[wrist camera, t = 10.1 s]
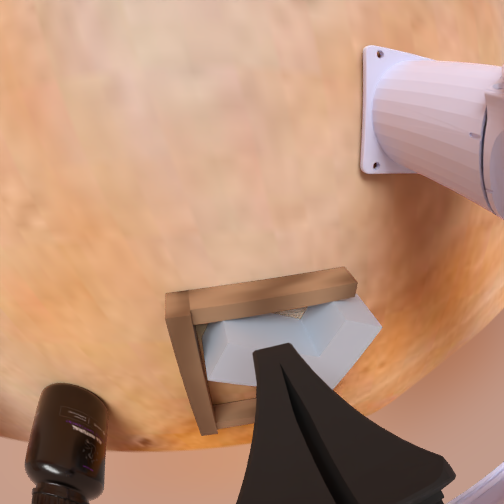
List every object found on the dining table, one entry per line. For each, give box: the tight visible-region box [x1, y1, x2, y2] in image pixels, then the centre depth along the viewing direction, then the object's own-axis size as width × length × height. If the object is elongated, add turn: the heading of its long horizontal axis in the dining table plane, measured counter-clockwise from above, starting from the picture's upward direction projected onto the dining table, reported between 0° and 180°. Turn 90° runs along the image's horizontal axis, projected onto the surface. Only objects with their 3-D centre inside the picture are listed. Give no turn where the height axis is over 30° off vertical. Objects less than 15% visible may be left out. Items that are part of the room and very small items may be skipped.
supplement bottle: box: [25, 383, 108, 504], centre depth 18 cm, size 7×7×12 cm
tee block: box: [202, 294, 382, 390], centre depth 22 cm, size 10×10×4 cm
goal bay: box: [165, 267, 358, 436], centre depth 23 cm, size 12×14×2 cm
